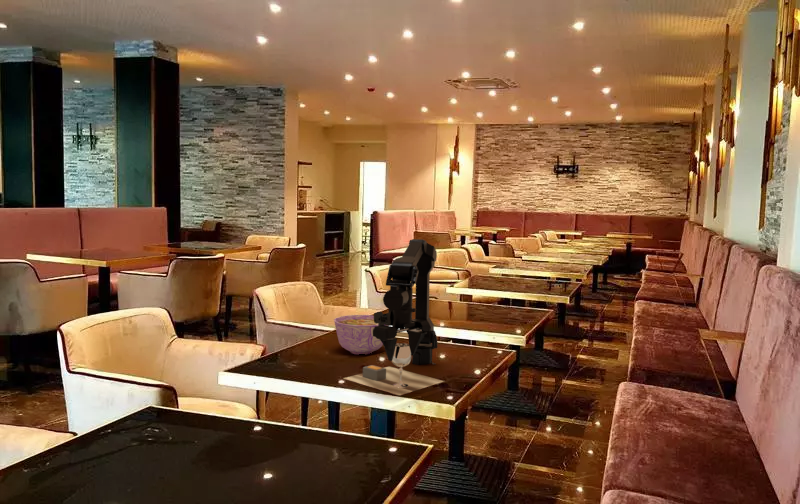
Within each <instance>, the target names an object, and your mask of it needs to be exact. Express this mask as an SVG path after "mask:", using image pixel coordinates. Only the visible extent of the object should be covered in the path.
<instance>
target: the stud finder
mask: <svg viewBox="0 0 800 504" xmlns="http://www.w3.org/2000/svg"><path fill="white" fill-rule="evenodd" d="M362 373H363V377H364V378H368V379H371V380H375V381H379V380H383V379H386V369H385V367H383V366H382V367H381V366H377V365H375V364H370V365H368V366H367V365H366V366H363V367H362Z"/></svg>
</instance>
